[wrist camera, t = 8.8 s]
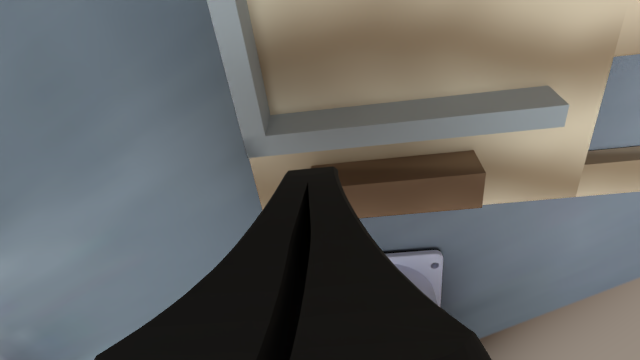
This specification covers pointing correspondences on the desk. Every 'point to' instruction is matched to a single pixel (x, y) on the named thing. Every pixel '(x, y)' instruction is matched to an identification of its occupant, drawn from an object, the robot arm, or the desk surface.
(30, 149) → the desk surface
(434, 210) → the walnut bar
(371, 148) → the birch board
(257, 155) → the grey rectangular frame
